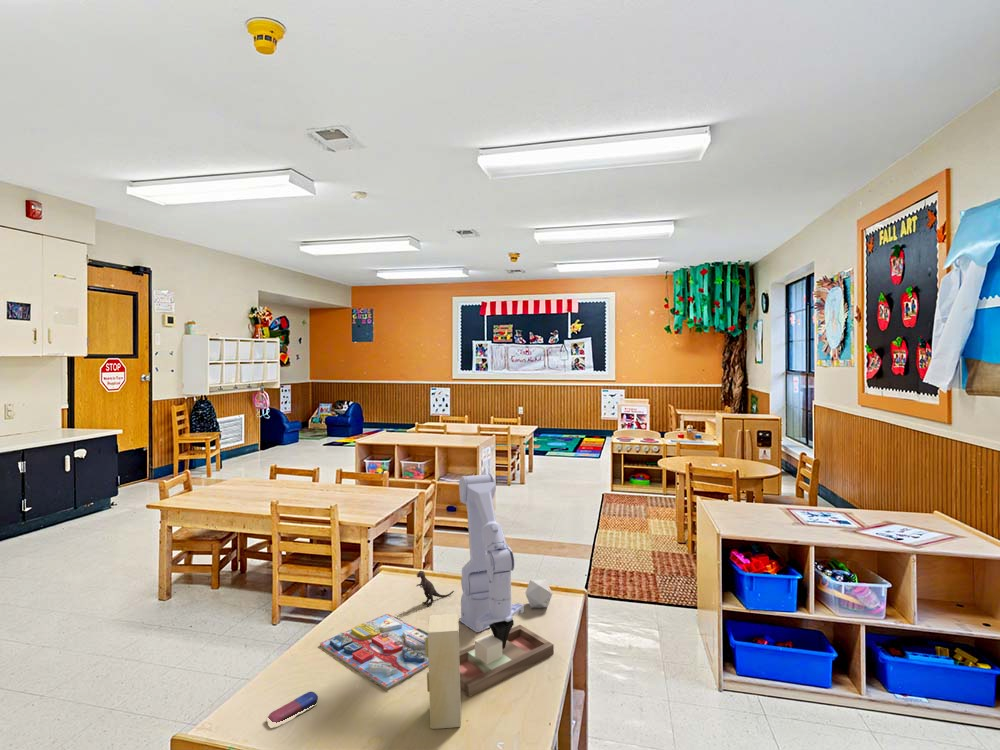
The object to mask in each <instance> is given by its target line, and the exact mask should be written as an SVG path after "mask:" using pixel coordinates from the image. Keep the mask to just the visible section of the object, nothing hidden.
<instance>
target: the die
mask: <svg viewBox="0 0 1000 750" xmlns="http://www.w3.org/2000/svg"><path fill="white" fill-rule="evenodd" d="M526 587H527V588H526V590H525V593H524V594H525V596H526V598H527V601H528V603H529V606H530V608H531V609H538V608H539V609H541V608H545V609H546V608H548V606H549V604H550V601H551V600H552V596H553V593H552V590H551V588H550V585H549V583H548V580H547V579H530V580H529V582H528V585H527V586H526Z"/></svg>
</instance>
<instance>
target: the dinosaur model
mask: <svg viewBox="0 0 1000 750" xmlns="http://www.w3.org/2000/svg"><path fill="white" fill-rule="evenodd" d="M416 577H417V578H420V580H421V581H420V583H419V584H416V587H419V588H421V589H423V592H424V595H425V597H426V600H425V601H422V604H423V605H426V607H431V606H432V605H433V603H434V597H437V598H445V597H449V596H451V595H452V594H453V593H454V592H455V590H452V591H451V592H449V593H447V594H440V593H439V592H437V590H436V589H435V586H434V584H433V583H432V582H431V581H430V580H428V579H427V577H426V573H425V571H424V570H419V571H418V572H417V574H416Z"/></svg>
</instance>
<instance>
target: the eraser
mask: <svg viewBox="0 0 1000 750" xmlns="http://www.w3.org/2000/svg"><path fill="white" fill-rule="evenodd" d="M318 699H319V697H318V694H317V693H316V692H315V691H308V692H306V693H304V694H302V695H299V696H298V697H297V698H295V699H293V700H292V701H290V702H288V703H286V704H284V705H282V706H281V707H279V708H277V709H275V710H273V711H272V712H270V713H269V715H268V716H267V718H269V719H270V720H271V721H272V722H276V723H277V722H280V721H283V720H285V719H287V718H289V717H291V716H293V715H295V714H297V713H298V712H301V711H303V710H304V709H307V708H309V707H310V706H312V705H315V704H316V703H317V704H318Z"/></svg>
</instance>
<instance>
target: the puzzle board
mask: <svg viewBox="0 0 1000 750" xmlns="http://www.w3.org/2000/svg"><path fill="white" fill-rule="evenodd" d="M425 638H428V631H425V630H423V629H421V628H418V627H415V626H414V625H412V624H409V623H407V622H405V621H404V620H402V619H400V618H398V617H396V616H393V615H391V614H389V613H385V614H384V615H381V616H379V617H378V616H377V617H376V618H374V619H372V620H369V621H367V622H365V623H364V622H362V623H360V624H358V625H356V626H354V627H352V628H351V629H349V630H347V631H344V632H340V633H338V634H337V635H335V636H333V637H331V638H329V639H328V638H327V639H326V640H324V641H322V642H319V646H320V647H321V648H322V649H324V650H325V651H327V652H328V653H329V654H331V655H333V656H334V657H336V658H337V659H339V660H340V661H342V662H343V663H345V664H346V665H348V667H350V668H352V669H353V670H355V671H357V672H358V673H360V674H361V675H363V676H364V677H366V678H367V679H368V680H370V681H371V682H373V683H375V684H376V685H378V686H379V687H380V688H382V689H384V690H385V691H390V690H392V689H393V688H395V687H397V686H398V685H400V684H401V683H403V682H405V681H407V680H408V679H410V678H412V677H413V676H416V675H417V674H418V673H420V672H422V671H424V670H425V669H427V668H429V661H428V657H426V650H425Z"/></svg>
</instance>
